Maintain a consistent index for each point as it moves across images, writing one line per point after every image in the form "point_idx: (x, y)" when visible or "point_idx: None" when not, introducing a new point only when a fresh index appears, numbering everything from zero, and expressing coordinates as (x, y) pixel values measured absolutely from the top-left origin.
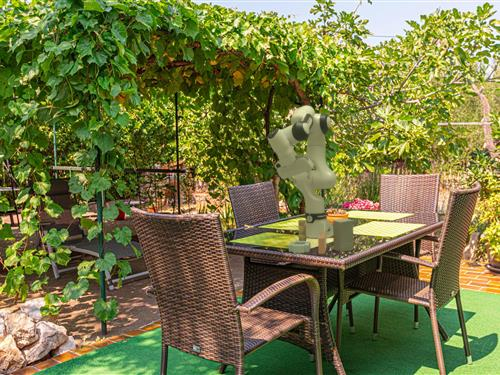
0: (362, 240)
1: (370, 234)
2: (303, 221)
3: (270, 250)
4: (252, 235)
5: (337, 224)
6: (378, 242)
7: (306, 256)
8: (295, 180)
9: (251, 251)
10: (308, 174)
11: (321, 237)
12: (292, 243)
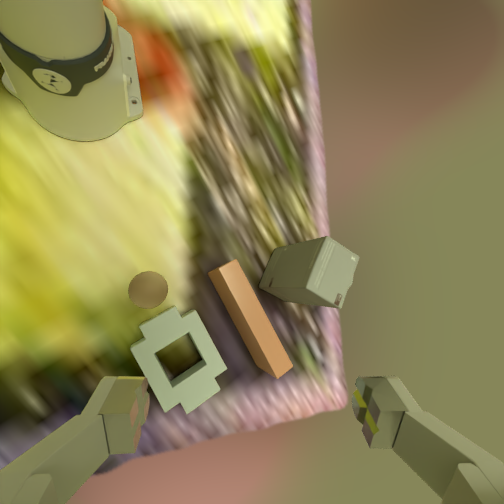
0: (251, 121)
1: (224, 23)
2: (163, 300)
3: None
4: None
5: (323, 302)
6: (296, 134)
7: (243, 411)
8: (132, 420)
9: None
10: (431, 472)
11: (276, 357)
12: (160, 380)
